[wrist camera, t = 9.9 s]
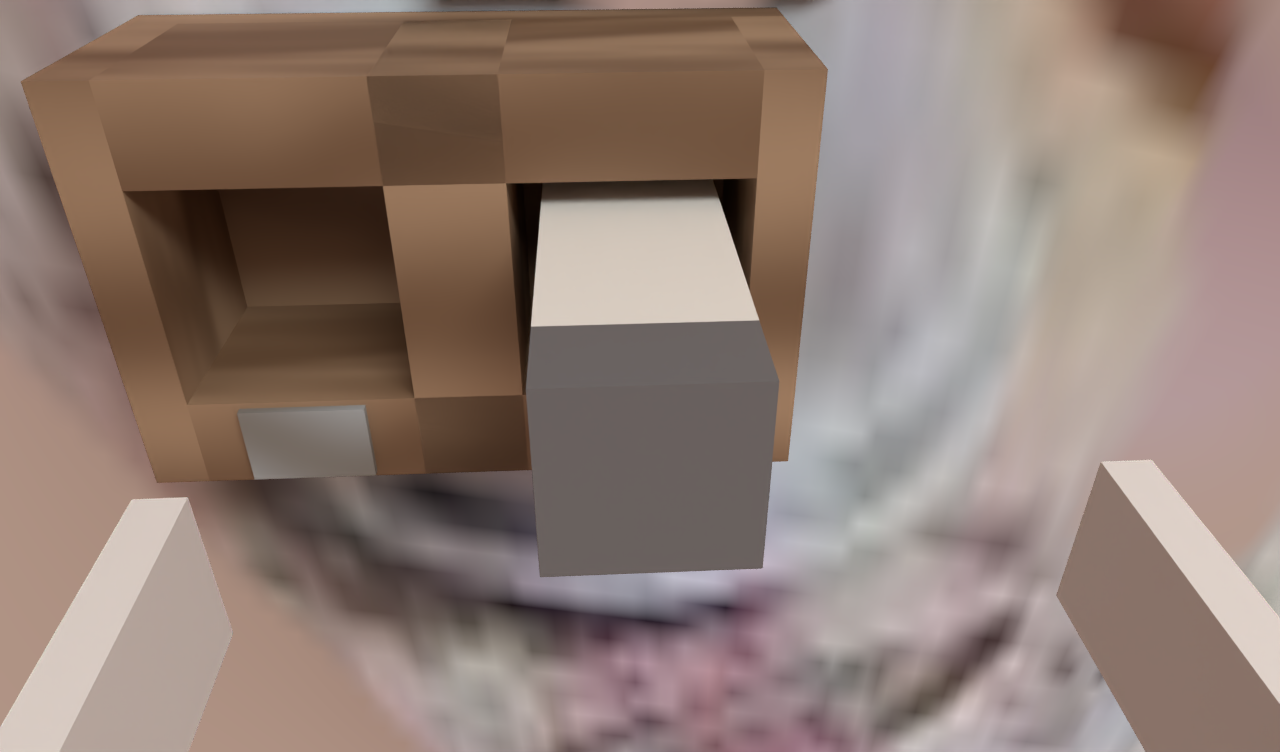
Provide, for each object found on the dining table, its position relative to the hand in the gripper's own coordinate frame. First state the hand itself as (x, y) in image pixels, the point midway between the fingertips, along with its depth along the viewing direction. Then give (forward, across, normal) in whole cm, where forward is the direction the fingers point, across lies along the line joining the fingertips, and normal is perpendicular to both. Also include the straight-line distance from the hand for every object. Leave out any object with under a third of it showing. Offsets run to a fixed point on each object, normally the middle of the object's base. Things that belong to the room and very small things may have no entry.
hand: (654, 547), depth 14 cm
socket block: (+15, -4, -1) cm, 15 cm away
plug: (+14, 0, -1) cm, 14 cm away
